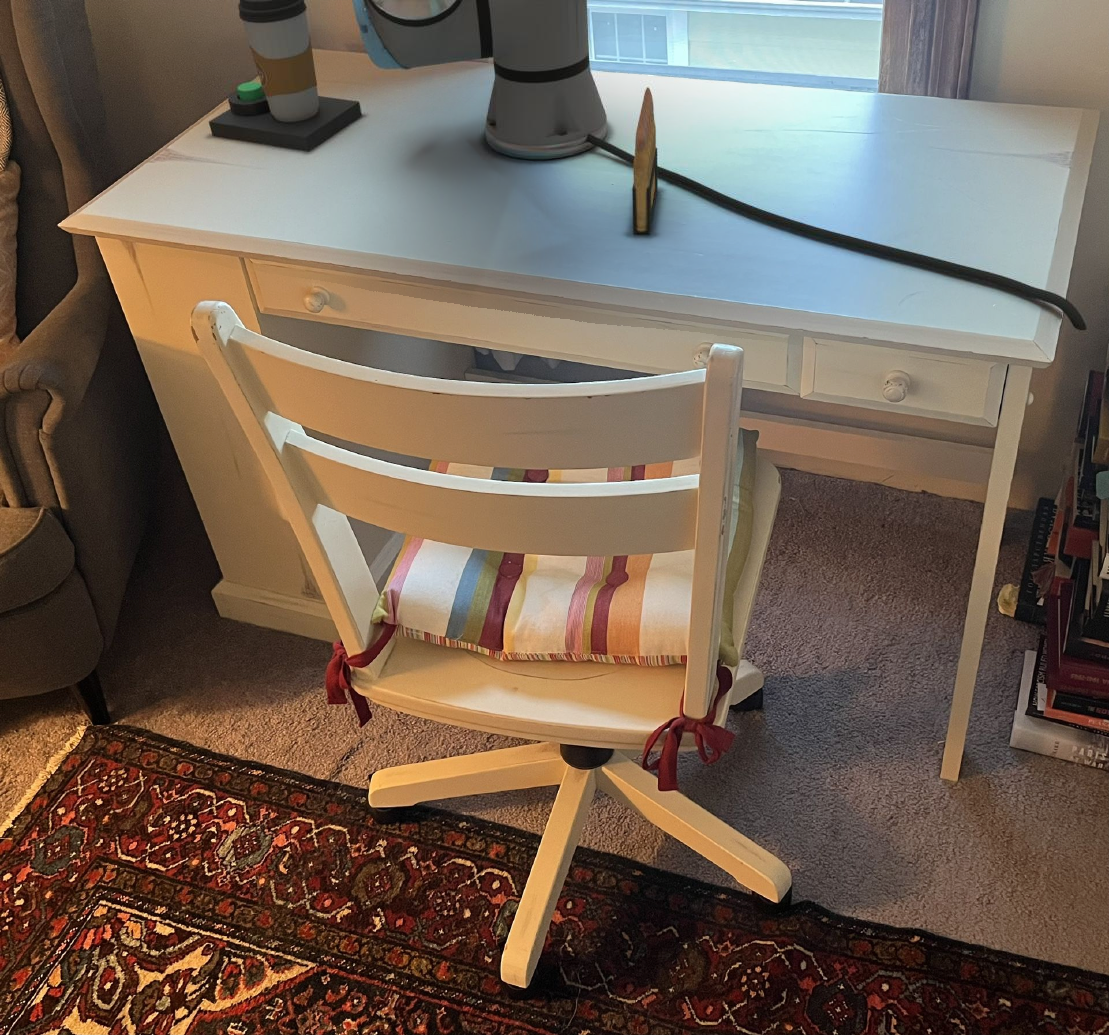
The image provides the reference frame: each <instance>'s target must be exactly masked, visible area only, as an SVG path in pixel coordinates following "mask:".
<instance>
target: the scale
mask: <svg viewBox="0 0 1109 1035" xmlns="http://www.w3.org/2000/svg"><path fill="white" fill-rule="evenodd" d="M262 88H263V87H262ZM263 92H264V90H263ZM318 100H319V108H318V112H317V113H316V114H315V115H314V116H312V117H310V118H308V119H305V120H301V121H295V122H283V121H279V120H277V119H275V117H274V115H272V114H271V111H270V108H269V104H268V101H267V98H266V96H265V94H264V96H263V97H262V98H259V99H256V100H251V101H243V100H240V97H239V93H238V90H236V91H235V92H233V93H231V94H230V95H229V96H228V99H227V101H228V105H229V109H227V110H226V111H224V112H222V113H220V114H219V115H217V116H216V117H214V118H212V119H211V120H209V121H208V125H209V128H210V132H211V135H212V136H214V137H221V138H226V139H232V140H237V141H245V142H250V143H256V144H257V143H258V144H263V145H269V146H275V147H281V148H288V149H293V150H299V151H304V152H305V151H306V152H310V151H312V150H313V149H314V148H317V146H319V145H320V144H322V143H323V142H325V141H327V139H329V138H330V137H333V136H334V135H335V134H337V133H338V132H340V131H341V130H342V129H344V128H346V127H347V126H349V125H350V124H351V123H353V122H354V121H356V120H357V119H359V118H361V116H362V115H363V114H362V108H361V103H360V101H358V100H350V99H343V98H336V97H329V96H322V95H318Z"/></svg>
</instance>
